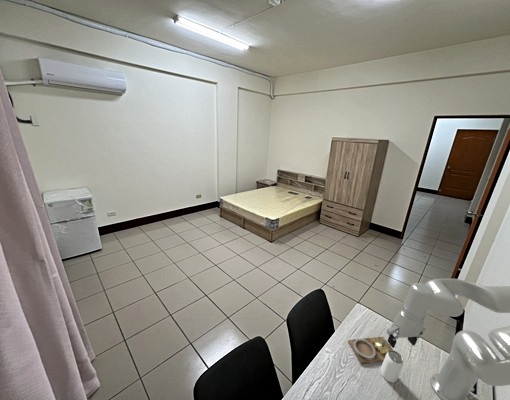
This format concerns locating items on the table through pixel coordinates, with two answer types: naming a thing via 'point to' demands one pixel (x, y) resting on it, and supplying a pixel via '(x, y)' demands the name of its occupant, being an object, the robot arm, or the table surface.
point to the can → (392, 366)
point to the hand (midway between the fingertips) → (400, 343)
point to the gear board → (367, 351)
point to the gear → (381, 346)
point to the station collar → (361, 353)
